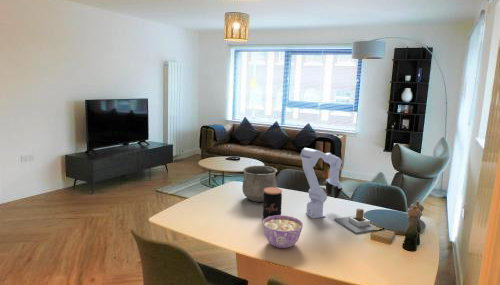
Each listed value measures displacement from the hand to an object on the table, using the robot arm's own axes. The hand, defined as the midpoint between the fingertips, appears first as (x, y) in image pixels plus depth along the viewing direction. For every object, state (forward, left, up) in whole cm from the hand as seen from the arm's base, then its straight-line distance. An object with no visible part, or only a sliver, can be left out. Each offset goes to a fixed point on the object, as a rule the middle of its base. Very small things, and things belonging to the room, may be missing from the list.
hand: (332, 195), depth 229 cm
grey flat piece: (+2, -25, -9) cm, 26 cm away
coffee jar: (-43, -2, -10) cm, 44 cm away
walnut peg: (+2, -25, -8) cm, 26 cm away
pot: (-37, +31, -10) cm, 50 cm away
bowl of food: (-52, -33, -10) cm, 62 cm away
